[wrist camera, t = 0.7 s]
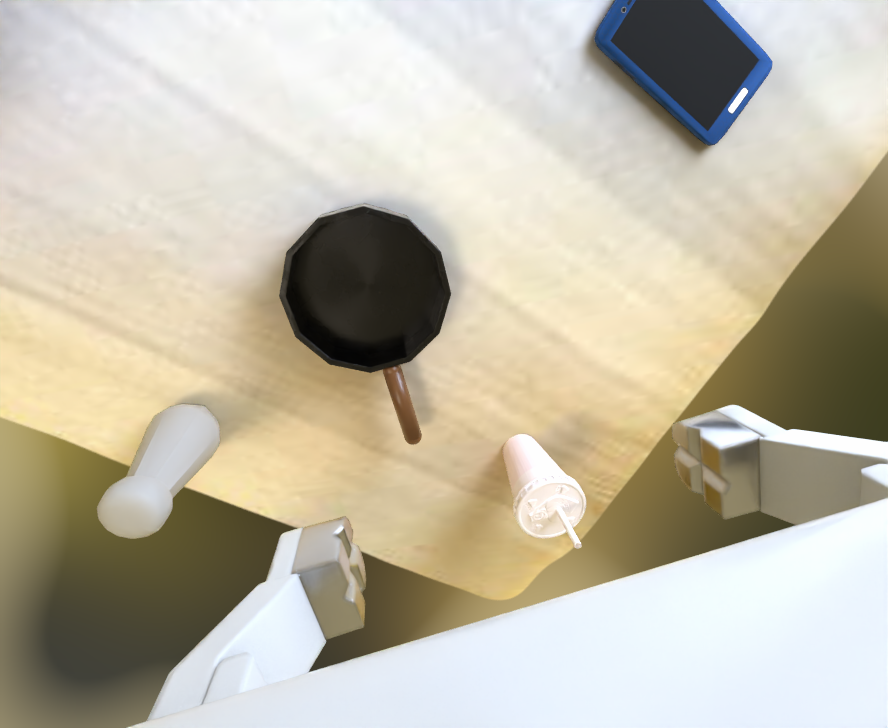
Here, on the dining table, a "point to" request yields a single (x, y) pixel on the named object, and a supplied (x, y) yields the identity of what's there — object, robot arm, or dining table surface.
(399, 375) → the pan
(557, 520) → the smoothie
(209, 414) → the salt shaker
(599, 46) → the cell phone
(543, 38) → the dining table surface
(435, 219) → the dining table surface
